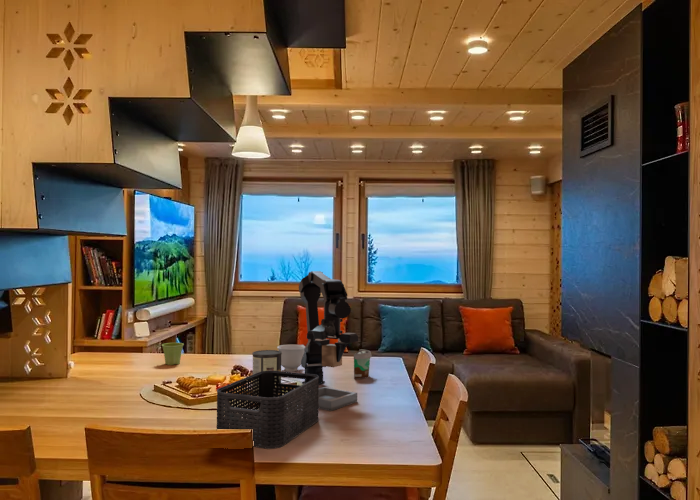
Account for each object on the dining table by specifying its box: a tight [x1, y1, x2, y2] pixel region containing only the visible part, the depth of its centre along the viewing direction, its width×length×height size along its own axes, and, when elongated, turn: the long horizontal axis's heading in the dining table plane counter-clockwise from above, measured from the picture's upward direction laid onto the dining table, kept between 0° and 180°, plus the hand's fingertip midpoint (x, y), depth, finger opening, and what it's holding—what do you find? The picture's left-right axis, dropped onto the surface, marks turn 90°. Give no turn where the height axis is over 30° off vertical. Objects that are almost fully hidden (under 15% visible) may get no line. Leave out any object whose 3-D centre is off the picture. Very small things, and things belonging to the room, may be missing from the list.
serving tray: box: [318, 386, 358, 412], centre depth 183 cm, size 14×14×3 cm
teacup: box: [276, 343, 306, 372], centre depth 237 cm, size 12×15×10 cm
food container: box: [353, 348, 373, 380], centre depth 225 cm, size 12×6×10 cm, turn 168°
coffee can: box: [252, 349, 282, 394], centre depth 197 cm, size 10×10×14 cm
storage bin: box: [216, 370, 320, 450], centre depth 154 cm, size 29×19×13 cm
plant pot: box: [161, 342, 185, 366], centre depth 247 cm, size 9×9×9 cm
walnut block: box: [322, 343, 343, 368], centre depth 193 cm, size 5×5×7 cm
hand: (331, 361), depth 193 cm, fingers closed on walnut block, 5 cm apart
